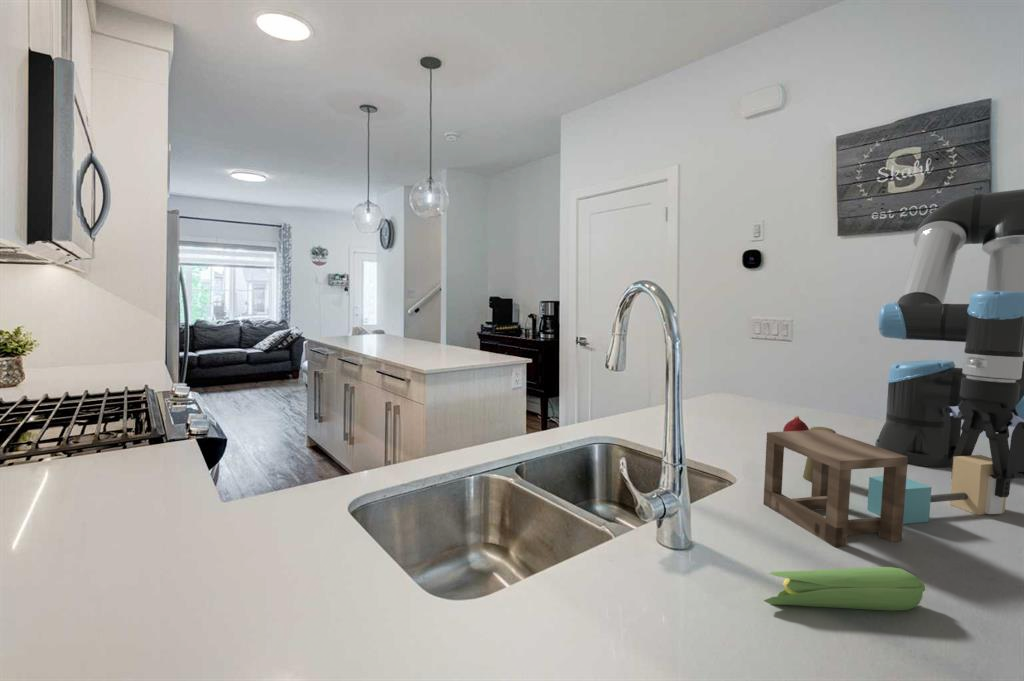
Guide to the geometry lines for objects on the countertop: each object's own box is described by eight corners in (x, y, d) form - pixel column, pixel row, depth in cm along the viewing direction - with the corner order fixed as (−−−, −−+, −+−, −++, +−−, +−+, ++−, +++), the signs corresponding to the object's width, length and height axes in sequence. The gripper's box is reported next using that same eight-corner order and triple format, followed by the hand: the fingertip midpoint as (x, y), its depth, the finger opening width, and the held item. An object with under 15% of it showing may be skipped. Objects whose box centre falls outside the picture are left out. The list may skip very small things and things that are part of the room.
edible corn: (943, 587, 57) (915, 557, 61) (768, 587, 58) (752, 557, 62) (931, 619, 59) (904, 587, 63) (761, 619, 60) (746, 588, 64)
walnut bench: (820, 499, 92) (824, 429, 91) (901, 540, 77) (907, 456, 75) (763, 503, 90) (766, 432, 89) (835, 547, 74) (840, 461, 73)
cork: (842, 486, 99) (845, 432, 98) (809, 483, 100) (812, 430, 99) (829, 475, 105) (832, 424, 104) (798, 473, 106) (801, 423, 105)
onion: (813, 450, 122) (815, 418, 122) (790, 450, 122) (792, 418, 122) (800, 443, 128) (802, 413, 127) (778, 443, 128) (779, 413, 127)
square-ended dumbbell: (972, 500, 92) (975, 453, 91) (1009, 514, 86) (1014, 464, 85) (867, 509, 88) (870, 460, 87) (899, 524, 82) (902, 471, 81)
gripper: (922, 371, 95) (911, 489, 96) (1033, 387, 77) (1017, 530, 79) (955, 371, 96) (943, 488, 98) (1071, 387, 79) (1054, 527, 81)
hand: (976, 506), depth 88 cm, fingers closed on square-ended dumbbell, 4 cm apart
